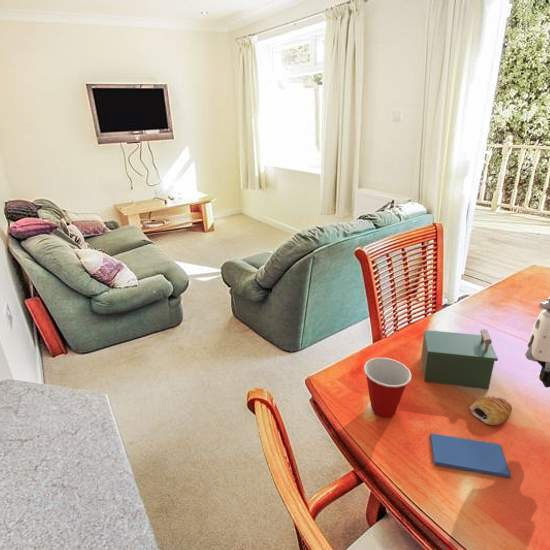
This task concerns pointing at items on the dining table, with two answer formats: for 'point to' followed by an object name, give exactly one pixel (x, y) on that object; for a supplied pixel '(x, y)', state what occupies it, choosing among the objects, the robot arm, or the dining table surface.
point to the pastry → (491, 410)
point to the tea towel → (469, 455)
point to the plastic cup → (386, 384)
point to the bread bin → (456, 370)
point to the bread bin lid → (460, 345)
